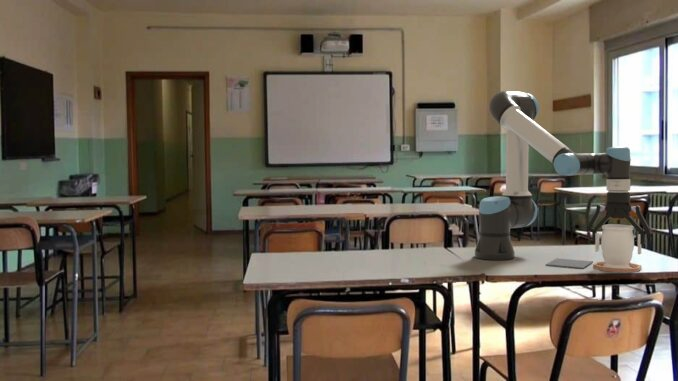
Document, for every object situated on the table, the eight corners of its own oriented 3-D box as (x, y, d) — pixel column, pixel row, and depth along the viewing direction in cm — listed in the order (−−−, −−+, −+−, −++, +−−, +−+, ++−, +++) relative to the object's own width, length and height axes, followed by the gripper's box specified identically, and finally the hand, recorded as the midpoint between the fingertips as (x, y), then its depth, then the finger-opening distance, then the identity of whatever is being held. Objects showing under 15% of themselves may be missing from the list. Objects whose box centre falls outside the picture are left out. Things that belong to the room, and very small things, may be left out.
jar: (594, 266, 219) (594, 224, 219) (618, 264, 223) (618, 223, 222) (615, 271, 209) (616, 227, 209) (640, 270, 212) (641, 226, 212)
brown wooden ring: (590, 269, 214) (590, 266, 214) (599, 263, 226) (599, 260, 226) (636, 273, 206) (636, 270, 206) (643, 266, 218) (643, 263, 218)
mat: (545, 265, 222) (545, 264, 222) (556, 259, 235) (556, 258, 235) (583, 269, 215) (583, 267, 215) (592, 262, 227) (592, 261, 227)
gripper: (578, 191, 218) (578, 251, 219) (656, 192, 204) (656, 256, 205) (583, 190, 225) (582, 248, 226) (659, 191, 211) (659, 253, 212)
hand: (618, 252), depth 215 cm, fingers open, 13 cm apart
